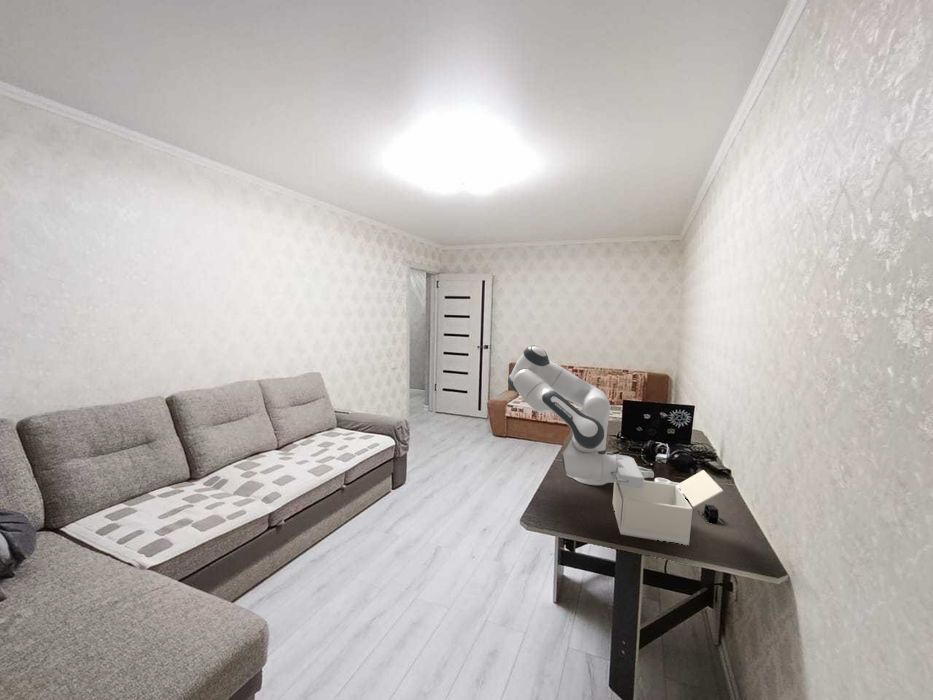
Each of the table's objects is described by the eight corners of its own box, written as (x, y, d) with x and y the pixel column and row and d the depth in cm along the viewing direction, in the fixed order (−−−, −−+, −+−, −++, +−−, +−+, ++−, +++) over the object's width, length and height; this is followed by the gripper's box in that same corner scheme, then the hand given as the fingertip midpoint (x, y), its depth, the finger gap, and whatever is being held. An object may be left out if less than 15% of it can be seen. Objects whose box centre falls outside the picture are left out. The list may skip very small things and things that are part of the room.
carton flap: (703, 469, 136) (704, 470, 136) (677, 484, 138) (678, 485, 138) (722, 490, 119) (723, 491, 119) (693, 506, 121) (693, 507, 121)
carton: (611, 507, 145) (614, 476, 144) (672, 517, 140) (675, 484, 139) (618, 535, 126) (621, 499, 125) (689, 546, 121) (693, 509, 120)
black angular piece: (693, 509, 148) (694, 498, 147) (714, 512, 147) (715, 500, 146) (707, 526, 136) (708, 514, 135) (730, 529, 134) (731, 516, 134)
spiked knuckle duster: (698, 507, 150) (657, 502, 152) (682, 487, 167) (645, 483, 170) (699, 499, 149) (658, 494, 152) (683, 480, 167) (646, 476, 170)
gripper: (614, 470, 125) (661, 476, 121) (606, 450, 144) (647, 454, 141) (613, 489, 125) (660, 496, 122) (605, 467, 145) (646, 471, 142)
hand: (653, 473), depth 132 cm, fingers closed
